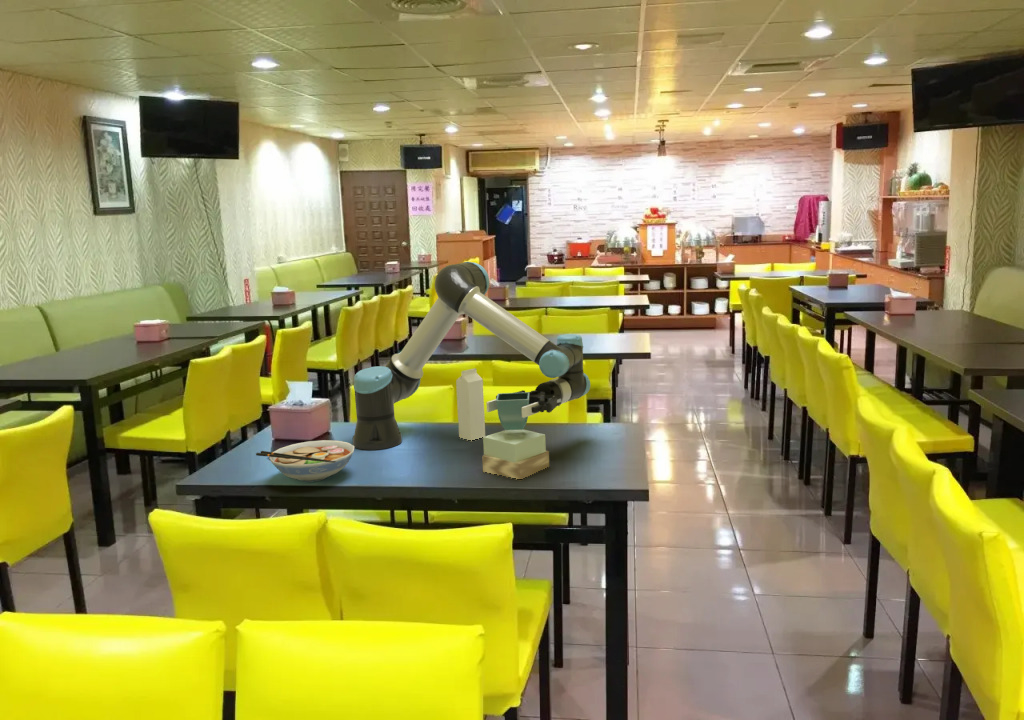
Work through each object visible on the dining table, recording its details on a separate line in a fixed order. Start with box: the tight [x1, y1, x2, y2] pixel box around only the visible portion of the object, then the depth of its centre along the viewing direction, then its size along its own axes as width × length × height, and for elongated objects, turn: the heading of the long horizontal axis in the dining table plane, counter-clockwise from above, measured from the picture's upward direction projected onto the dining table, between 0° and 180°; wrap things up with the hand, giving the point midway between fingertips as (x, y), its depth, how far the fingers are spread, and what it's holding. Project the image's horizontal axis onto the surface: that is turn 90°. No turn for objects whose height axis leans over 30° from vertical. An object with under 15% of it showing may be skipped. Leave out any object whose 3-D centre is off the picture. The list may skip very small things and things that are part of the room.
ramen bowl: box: [255, 439, 355, 483], centre depth 213 cm, size 25×23×8 cm
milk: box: [455, 368, 486, 442], centre depth 244 cm, size 6×6×22 cm
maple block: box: [481, 450, 550, 480], centre depth 213 cm, size 13×13×5 cm
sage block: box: [482, 429, 547, 463], centre depth 212 cm, size 12×12×5 cm
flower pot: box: [495, 391, 530, 430], centre depth 211 cm, size 9×9×9 cm
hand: (504, 409), depth 208 cm, fingers closed on flower pot, 11 cm apart
